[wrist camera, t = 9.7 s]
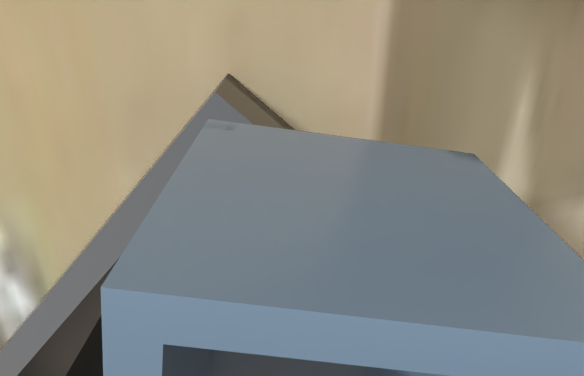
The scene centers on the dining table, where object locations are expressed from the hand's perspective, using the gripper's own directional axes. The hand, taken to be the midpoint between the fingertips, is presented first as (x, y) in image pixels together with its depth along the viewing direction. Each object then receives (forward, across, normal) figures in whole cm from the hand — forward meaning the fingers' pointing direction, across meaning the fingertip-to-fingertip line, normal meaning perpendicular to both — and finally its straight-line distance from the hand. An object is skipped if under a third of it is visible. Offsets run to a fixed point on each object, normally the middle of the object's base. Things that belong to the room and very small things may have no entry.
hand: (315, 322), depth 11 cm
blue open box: (+1, 0, 0) cm, 1 cm away
